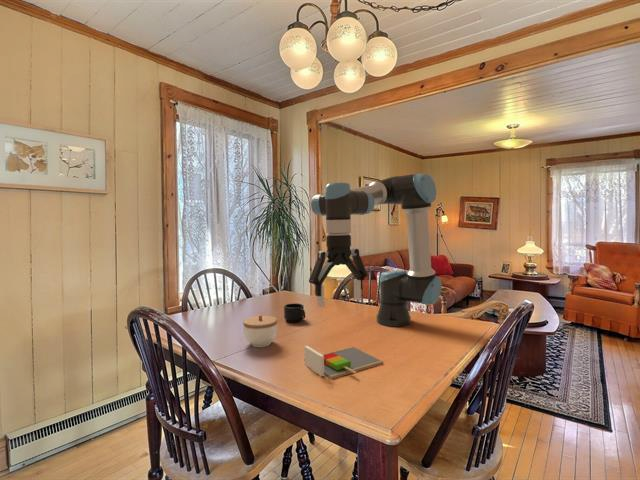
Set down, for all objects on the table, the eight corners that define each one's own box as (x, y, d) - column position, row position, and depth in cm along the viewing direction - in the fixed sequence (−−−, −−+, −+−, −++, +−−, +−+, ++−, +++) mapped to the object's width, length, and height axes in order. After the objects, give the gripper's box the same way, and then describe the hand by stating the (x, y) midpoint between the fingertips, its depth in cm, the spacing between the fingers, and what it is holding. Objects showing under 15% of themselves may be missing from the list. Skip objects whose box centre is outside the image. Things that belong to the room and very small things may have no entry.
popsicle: (333, 357, 116) (333, 352, 116) (363, 373, 103) (362, 367, 103) (319, 361, 113) (319, 355, 113) (348, 378, 100) (348, 372, 100)
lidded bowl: (241, 340, 135) (240, 312, 135) (273, 336, 140) (273, 309, 139) (246, 352, 124) (245, 321, 123) (281, 347, 128) (280, 317, 127)
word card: (308, 363, 113) (307, 345, 112) (324, 375, 104) (324, 355, 104) (304, 364, 112) (304, 346, 112) (321, 376, 103) (321, 356, 103)
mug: (280, 320, 162) (280, 305, 162) (294, 316, 168) (294, 302, 168) (297, 326, 154) (297, 310, 153) (312, 321, 160) (312, 306, 160)
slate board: (352, 348, 126) (352, 346, 126) (382, 363, 112) (382, 361, 112) (304, 360, 115) (304, 358, 115) (331, 378, 102) (331, 376, 102)
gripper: (363, 232, 116) (363, 295, 117) (296, 235, 103) (298, 306, 104) (378, 232, 109) (378, 299, 111) (309, 236, 96) (310, 312, 98)
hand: (339, 303), depth 107 cm, fingers open, 13 cm apart
